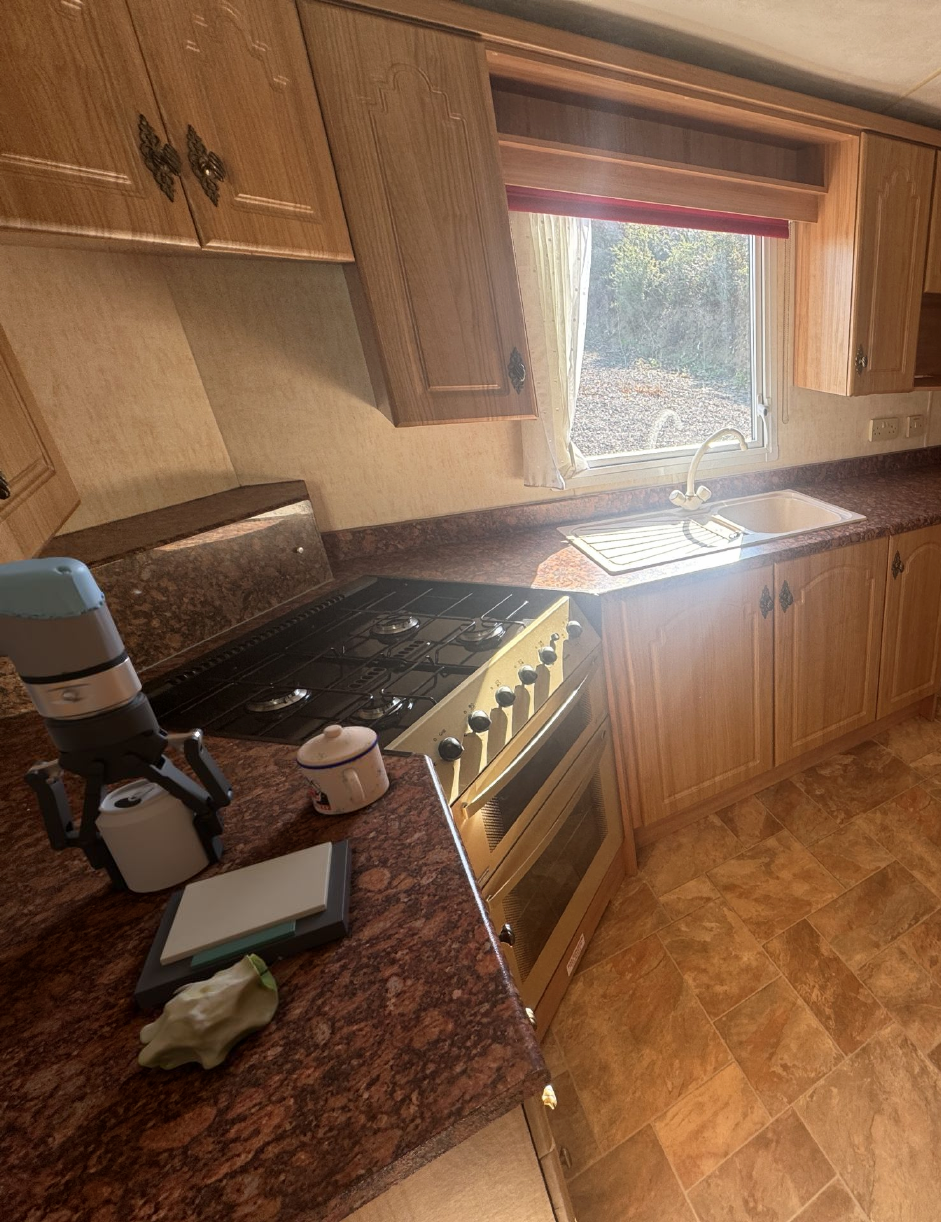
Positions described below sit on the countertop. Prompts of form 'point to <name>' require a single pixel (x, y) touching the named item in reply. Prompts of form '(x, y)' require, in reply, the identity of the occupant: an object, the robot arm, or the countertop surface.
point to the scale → (248, 918)
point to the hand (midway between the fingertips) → (173, 869)
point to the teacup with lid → (343, 769)
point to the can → (151, 836)
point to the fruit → (211, 1016)
